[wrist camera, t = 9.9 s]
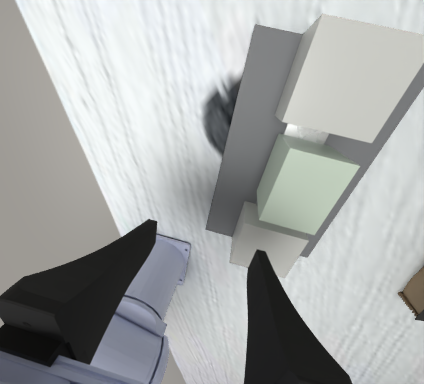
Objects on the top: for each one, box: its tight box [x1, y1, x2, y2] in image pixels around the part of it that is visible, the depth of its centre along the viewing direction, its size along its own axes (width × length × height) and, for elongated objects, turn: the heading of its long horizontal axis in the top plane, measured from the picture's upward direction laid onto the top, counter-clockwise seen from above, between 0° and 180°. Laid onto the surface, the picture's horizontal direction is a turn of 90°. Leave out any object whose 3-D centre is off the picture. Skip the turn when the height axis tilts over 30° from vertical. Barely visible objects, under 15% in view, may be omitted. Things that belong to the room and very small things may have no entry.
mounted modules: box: [230, 14, 424, 278], centre depth 16 cm, size 20×6×4 cm, turn 168°
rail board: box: [205, 24, 424, 257], centre depth 18 cm, size 20×13×1 cm, turn 168°
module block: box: [257, 133, 360, 235], centre depth 15 cm, size 6×4×5 cm
